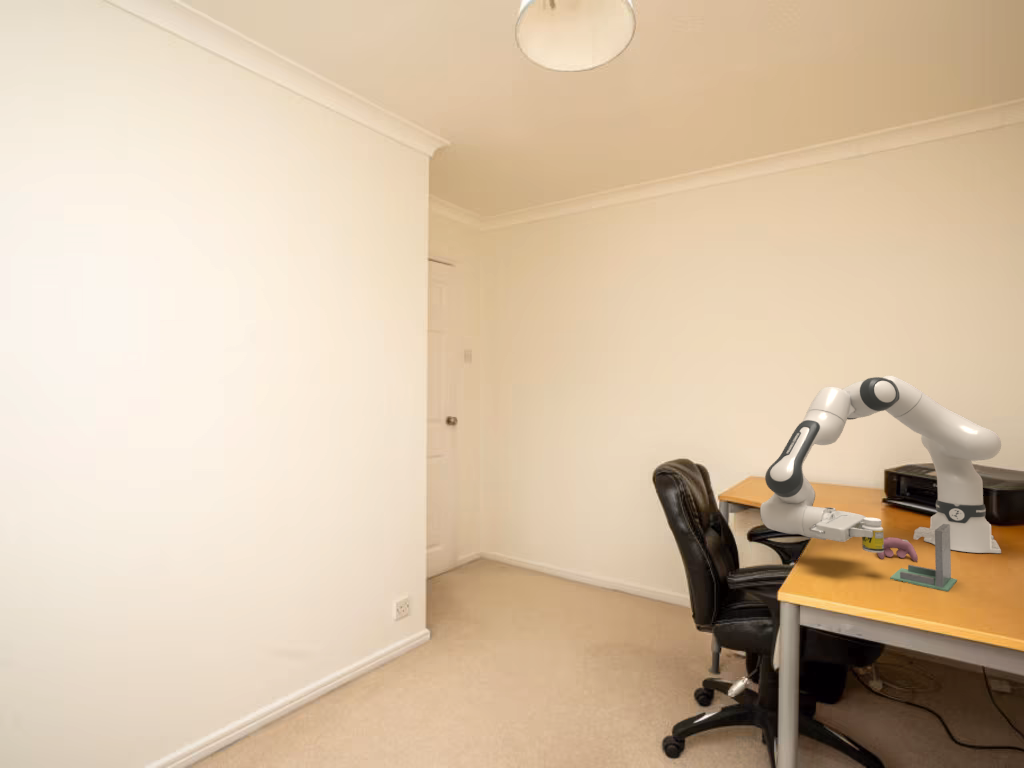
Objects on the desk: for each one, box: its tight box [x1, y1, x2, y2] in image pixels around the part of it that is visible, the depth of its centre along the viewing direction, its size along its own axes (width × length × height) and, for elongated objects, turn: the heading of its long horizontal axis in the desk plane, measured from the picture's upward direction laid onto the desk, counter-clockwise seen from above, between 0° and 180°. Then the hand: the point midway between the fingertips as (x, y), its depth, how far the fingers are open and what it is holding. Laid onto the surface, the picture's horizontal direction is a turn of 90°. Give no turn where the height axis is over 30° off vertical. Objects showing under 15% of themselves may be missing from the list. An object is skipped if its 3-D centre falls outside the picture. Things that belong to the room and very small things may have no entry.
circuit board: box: [889, 567, 958, 592], centre depth 140 cm, size 11×12×1 cm
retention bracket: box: [900, 524, 952, 588], centre depth 139 cm, size 10×9×14 cm
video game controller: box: [876, 536, 919, 563], centre depth 159 cm, size 10×5×7 cm, turn 72°
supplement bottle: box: [861, 516, 885, 554], centre depth 143 cm, size 5×5×8 cm
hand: (876, 531), depth 142 cm, fingers closed on supplement bottle, 5 cm apart
